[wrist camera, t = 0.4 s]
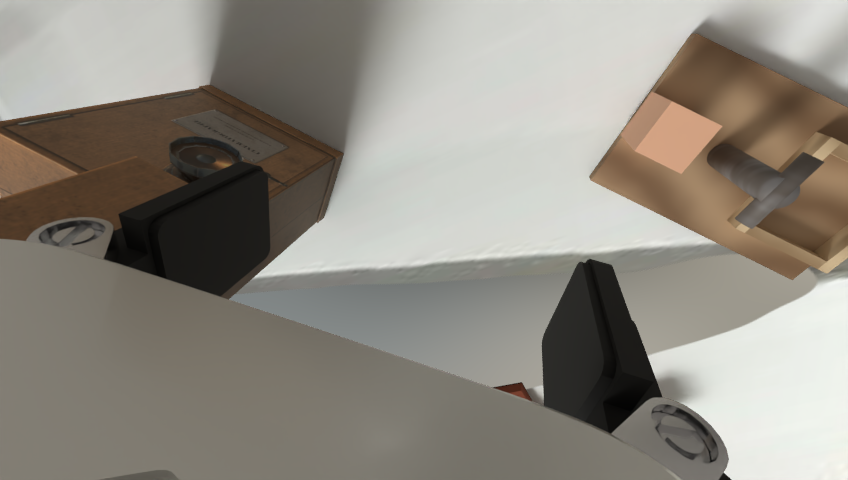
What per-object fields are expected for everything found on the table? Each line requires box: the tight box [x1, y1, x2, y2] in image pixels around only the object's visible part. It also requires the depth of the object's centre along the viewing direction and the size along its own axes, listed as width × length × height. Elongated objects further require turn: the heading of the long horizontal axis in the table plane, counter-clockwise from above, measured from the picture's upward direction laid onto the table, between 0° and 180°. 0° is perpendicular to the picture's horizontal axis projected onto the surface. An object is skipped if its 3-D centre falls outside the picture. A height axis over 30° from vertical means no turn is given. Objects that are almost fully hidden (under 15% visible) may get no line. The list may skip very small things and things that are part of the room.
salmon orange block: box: [621, 92, 722, 174], centre depth 34 cm, size 4×4×6 cm
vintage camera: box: [0, 85, 344, 299], centre depth 34 cm, size 19×14×35 cm
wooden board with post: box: [589, 34, 848, 280], centre depth 32 cm, size 15×24×12 cm, turn 67°
